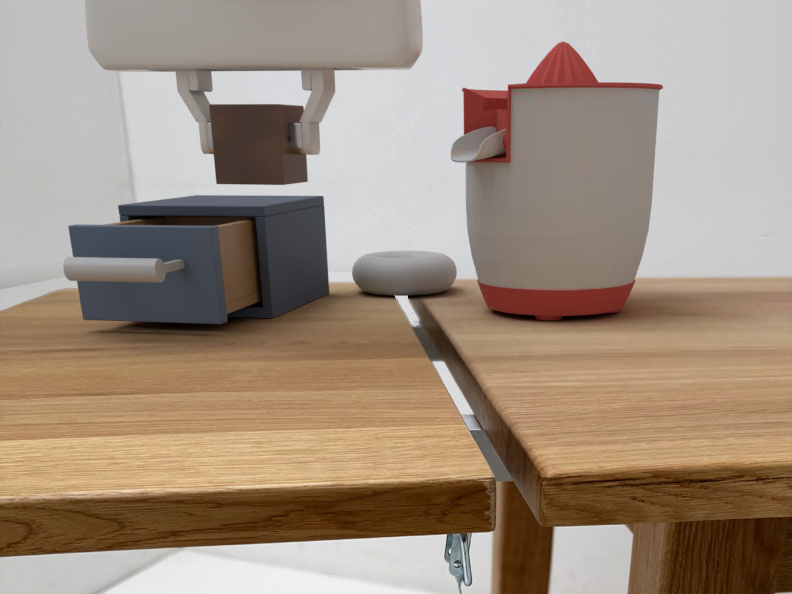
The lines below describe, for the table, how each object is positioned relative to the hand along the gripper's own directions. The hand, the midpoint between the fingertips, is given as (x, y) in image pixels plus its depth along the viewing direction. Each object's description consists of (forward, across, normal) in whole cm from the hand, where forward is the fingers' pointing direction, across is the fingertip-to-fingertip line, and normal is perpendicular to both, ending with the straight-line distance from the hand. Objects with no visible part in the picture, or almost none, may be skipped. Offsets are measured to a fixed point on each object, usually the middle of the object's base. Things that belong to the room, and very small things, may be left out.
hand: (261, 154), depth 64 cm
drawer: (+12, -13, +11) cm, 21 cm away
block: (+2, 0, 0) cm, 2 cm away
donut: (+13, 0, +33) cm, 35 cm away
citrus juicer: (+13, +15, +23) cm, 30 cm away
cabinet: (+13, -13, +23) cm, 29 cm away
